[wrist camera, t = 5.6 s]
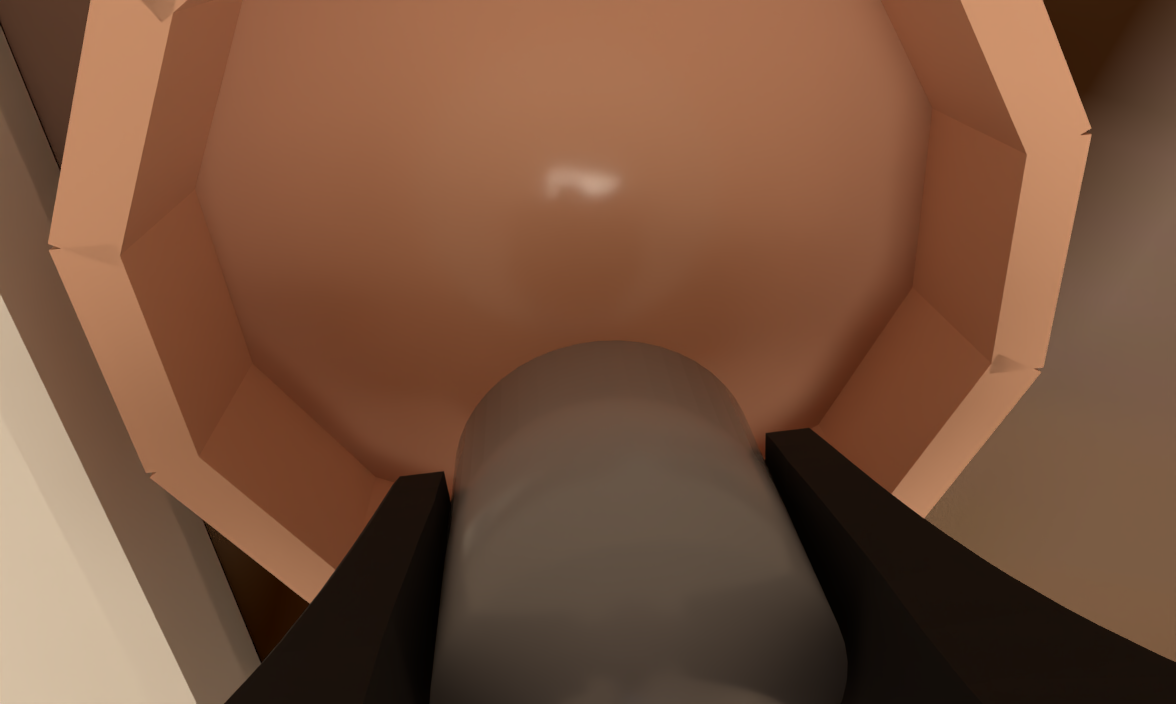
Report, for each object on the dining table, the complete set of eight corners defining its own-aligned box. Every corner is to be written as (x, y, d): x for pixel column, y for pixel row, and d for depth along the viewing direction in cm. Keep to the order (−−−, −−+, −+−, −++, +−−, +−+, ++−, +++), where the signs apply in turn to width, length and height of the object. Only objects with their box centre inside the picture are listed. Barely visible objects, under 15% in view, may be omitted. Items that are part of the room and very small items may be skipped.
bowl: (910, 481, 17) (994, 605, 14) (293, 555, 17) (244, 698, 14) (1005, -285, 11) (1192, -358, 8) (33, -190, 11) (-160, -228, 8)
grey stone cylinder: (746, 568, 13) (829, 806, 10) (475, 596, 13) (460, 847, 10) (757, 327, 11) (867, 519, 8) (434, 355, 11) (395, 565, 8)
